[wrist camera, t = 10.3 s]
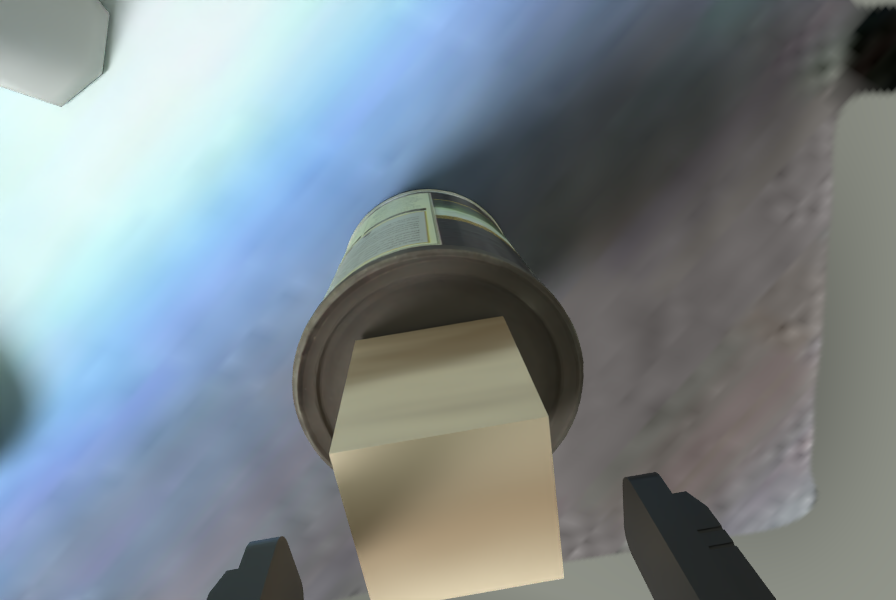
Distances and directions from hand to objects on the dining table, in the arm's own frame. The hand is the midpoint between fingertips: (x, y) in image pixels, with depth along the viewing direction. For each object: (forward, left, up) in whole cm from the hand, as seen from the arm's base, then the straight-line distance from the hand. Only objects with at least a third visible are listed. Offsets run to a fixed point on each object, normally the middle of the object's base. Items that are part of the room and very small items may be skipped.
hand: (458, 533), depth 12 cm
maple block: (0, 0, -6) cm, 6 cm away
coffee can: (0, 0, -21) cm, 21 cm away
